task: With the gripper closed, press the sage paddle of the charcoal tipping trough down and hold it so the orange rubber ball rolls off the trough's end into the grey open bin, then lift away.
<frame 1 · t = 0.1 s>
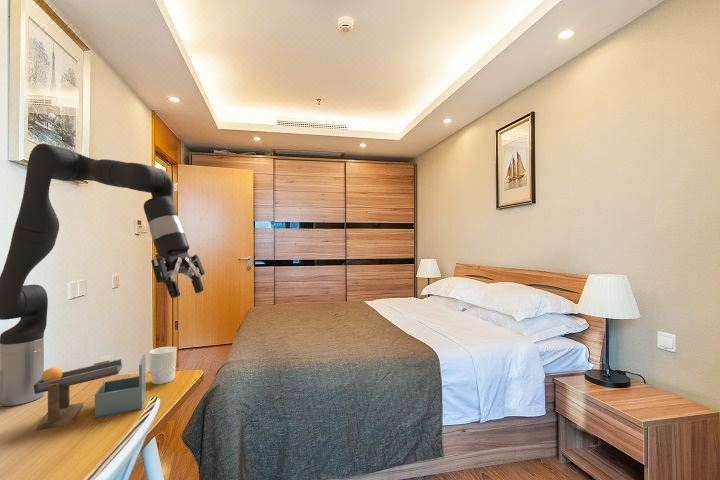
hand: (188, 294, 88), 31 cm above the table, tool tilted 20°, fingers open, 8 cm apart
ball: (52, 375, 88), point 11 cm above the table, tilted 5°, touching lever
grey open bin: (122, 406, 95), on the table
stand: (59, 418, 89), on the table
lever: (84, 370, 94), point 10 cm above the table, hinge at -6.0°, touching ball
white cup: (163, 380, 113), on the table
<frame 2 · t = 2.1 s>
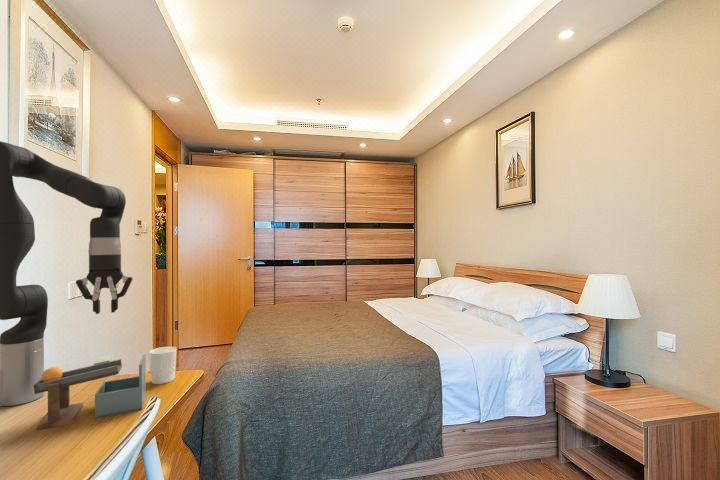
hand: (105, 312, 100), 25 cm above the table, tool pointing down, fingers open, 3 cm apart
nothing on the table moved.
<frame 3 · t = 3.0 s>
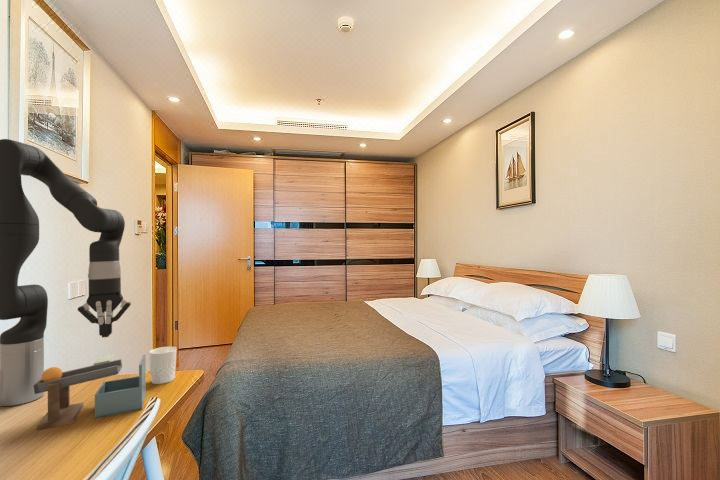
hand: (105, 336, 100), 18 cm above the table, tool pointing down, fingers closed
nothing on the table moved.
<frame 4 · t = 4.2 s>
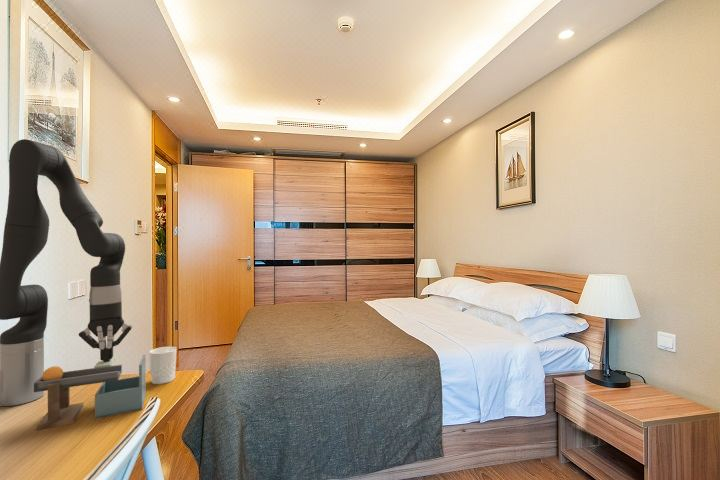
hand: (106, 361, 100), 11 cm above the table, tool pointing down, fingers closed
lever: (84, 372, 94), point 10 cm above the table, hinge at 1.1°, touching ball, gripper
everything else where it was.
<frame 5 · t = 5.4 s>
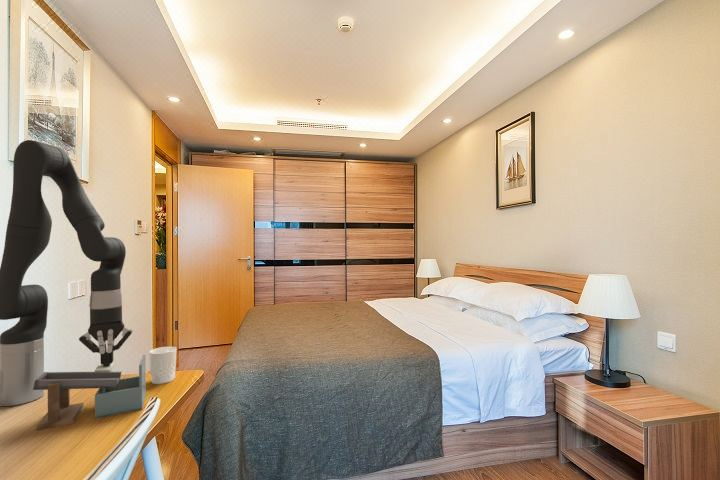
hand: (107, 365, 100), 10 cm above the table, tool pointing down, fingers closed
ball: (112, 398, 94), point 2 cm above the table, tilted 31°, touching grey open bin
lever: (84, 375, 94), point 9 cm above the table, hinge at 9.7°, touching gripper
everything else where it was.
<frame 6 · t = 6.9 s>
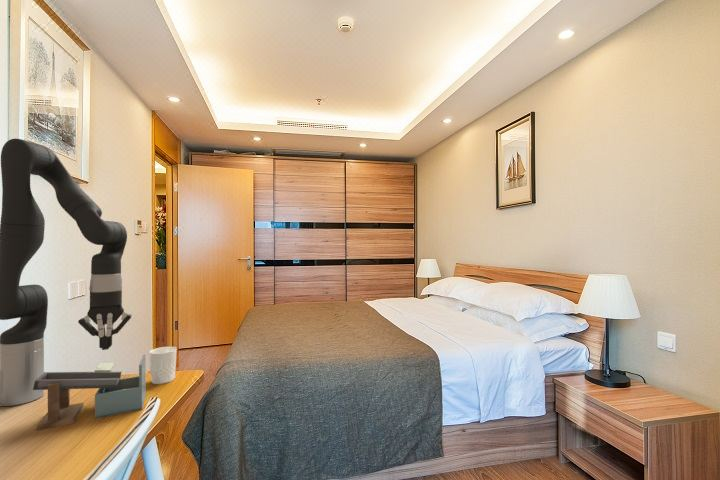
hand: (105, 349, 100), 15 cm above the table, tool pointing down, fingers closed
ball: (123, 396, 95), point 2 cm above the table, tilted 42°, touching grey open bin
lever: (84, 375, 94), point 9 cm above the table, hinge at 9.7°
everything else where it was.
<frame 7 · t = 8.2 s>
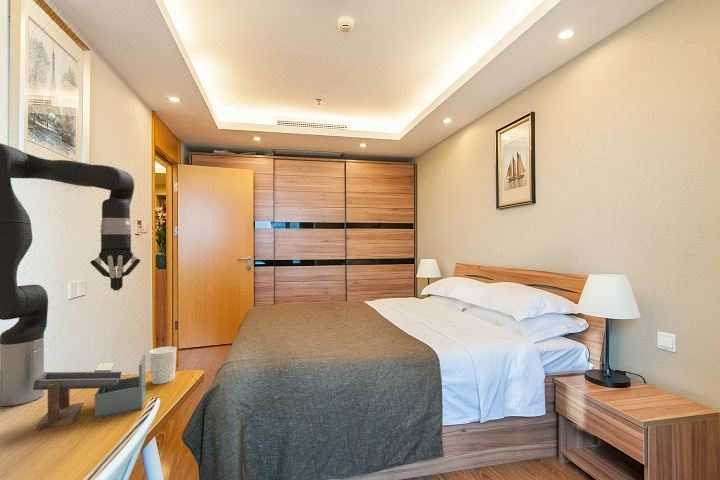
hand: (116, 290, 105), 31 cm above the table, tool pointing down, fingers closed
ball: (132, 395, 96), point 2 cm above the table, tilted 102°, touching grey open bin
everything else where it was.
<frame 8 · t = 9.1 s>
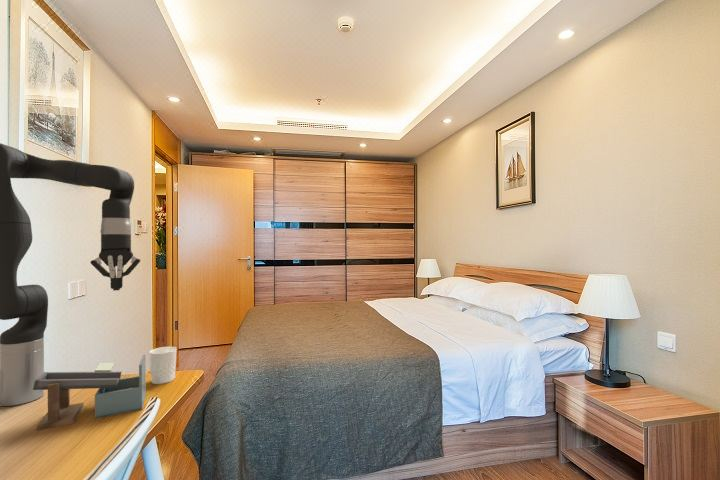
hand: (116, 290, 105), 31 cm above the table, tool pointing down, fingers closed
ball: (130, 395, 96), point 2 cm above the table, tilted 88°, touching grey open bin
everything else where it was.
at the end: ball inside the target area on the grey open bin (1.9 cm from its centre), point 2.5 cm above the grey open bin's base; lever at +10° (first picture: -6°) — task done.
